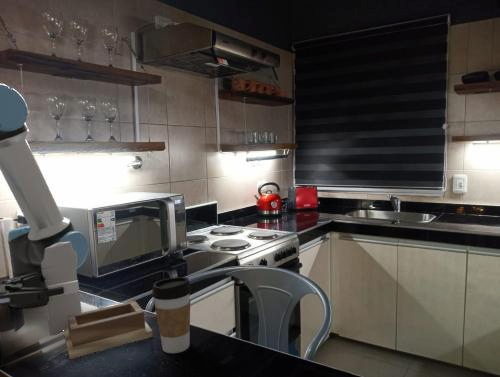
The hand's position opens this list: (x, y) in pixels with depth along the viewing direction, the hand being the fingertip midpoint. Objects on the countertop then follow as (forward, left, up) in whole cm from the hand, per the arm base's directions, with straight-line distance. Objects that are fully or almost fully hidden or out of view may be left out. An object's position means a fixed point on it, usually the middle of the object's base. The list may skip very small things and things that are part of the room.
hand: (75, 278), depth 105 cm
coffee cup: (+27, +17, -12) cm, 34 cm away
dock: (+12, +5, -12) cm, 18 cm away
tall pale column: (0, -3, -12) cm, 13 cm away
